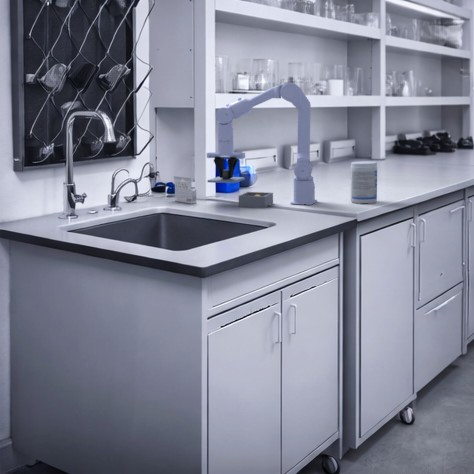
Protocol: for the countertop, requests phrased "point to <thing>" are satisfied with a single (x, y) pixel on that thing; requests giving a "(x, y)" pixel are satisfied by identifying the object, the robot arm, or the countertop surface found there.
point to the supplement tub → (363, 182)
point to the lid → (226, 178)
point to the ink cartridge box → (184, 190)
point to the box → (255, 199)
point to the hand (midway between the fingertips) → (226, 177)
